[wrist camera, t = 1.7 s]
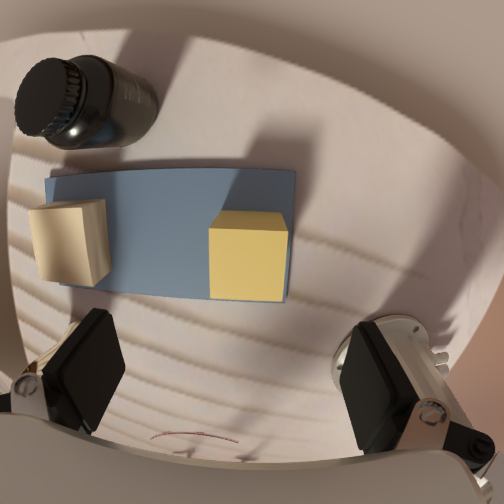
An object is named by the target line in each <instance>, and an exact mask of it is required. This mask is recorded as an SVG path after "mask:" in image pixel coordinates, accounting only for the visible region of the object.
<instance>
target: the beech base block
mask: <svg viewBox="0 0 504 504" xmlns="http://www.w3.org/2000/svg"><path fill="white" fill-rule="evenodd" d="M28 214H29V222H30V229H31V236H32V242H33V247H34V253H35V258H36V263H37V268H38V272H39V276H40V280H44V281H51V282H59V283H66V284H74V285H82V286H90V287H94V286H95V285H96V284H97V283H98V282H99V281H100V280H101V279H102V278H103V277H105V276H106V275H107V274H108V273H109V272H110V271H111V270H112V263H111V255H110V248H109V239H108V229H107V219H106V206H105V199H94V200H73V201H57V202H50V203H47V204H44V205H41V206H39V207H36V208H33V209H30V210H28Z"/></svg>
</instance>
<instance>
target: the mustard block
mask: <svg viewBox="0 0 504 504" xmlns="http://www.w3.org/2000/svg"><path fill="white" fill-rule="evenodd" d="M287 241H288V230H287V227H286V224H285V222H284V219H283V216H282V214H281V213H280V212H258V211H230V210H221V211H220V212H219V214H218V215H217V217H216V218H215V220H214V221H213V223H212V224H211V226H210V227H209V274H210V298H212V299H230V300H251V301H278V302H282V299H283V289H284V277H285V266H286V254H287Z"/></svg>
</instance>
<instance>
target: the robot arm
mask: <svg viewBox="0 0 504 504" xmlns="http://www.w3.org/2000/svg"><path fill="white" fill-rule="evenodd" d="M448 358H449V355H448V353H447V352H442V353H437V354H434V353H433V352H432V351H431V350H430V348H429V337H428V333H427V331H426V329H425V328H424V327H423V325H422V324H421V323H420V322H419V321H418V320H416V319H415V318H412V317H410V316H406V315H390V316H385V317H381V318H379V319H376V320H374V321H369V322H359V324H358V326H354V328H353V332H352V335H351V336H349V337H348V338H347V339H346V340H345V341H344V343H343V344H342V345H341V347H340V348H339V349H338V351H337V353H336V355H335V357H334V360H333V363H332V370H331V373H332V378H333V381H334V384H335V386H336V388H337V389H338V390H339V391H340V392H341V393H342V394H343V397H344V400H345V403H346V407H347V410H348V414H349V417H350V420H351V424H352V427H353V431H354V434H355V438H356V441H357V445H358V448H359V450H363V452H364V455H361V456H355V457H348V458H339V459H330V460H320V461H308V462H290V463H244V462H226V461H213V460H203V459H195V458H187V457H180V456H174V455H168V454H162V453H157V452H152V451H147V450H142V449H138V448H134V447H130V446H126V445H122V444H118V443H114V442H111V441H107V440H104V439H100V438H97V437H94V436H91V433H92V431H93V432H95V431H96V429H97V428H98V425H99V423H100V421H101V419H102V417H103V415H104V413H105V411H106V408H107V406H108V404H109V402H110V400H111V398H112V396H113V394H114V392H115V390H116V388H117V386H118V384H119V382H120V380H121V378H122V376H123V374H124V372H125V362H124V359H123V356H122V352H121V349H120V345H119V341H118V337H117V334H116V330H115V326H114V322H113V317H112V315H111V314H109V312H108V311H107V310H105V309H98V308H93V309H92V310H91V311H90V312H89V313H88V314H87V316H86V317H85V318H84V319H83V320H82V321H81V322H80V324H79V325H78V326H77V327H76V328H75V329H74V331H73V332H72V333H71V334H70V335H69V337H68V338H67V339H66V340H65V341H64V343H63V344H62V345H61V346H60V347H59V349H58V350H57V351H56V352H55V354H54V355H53V356H52V357H51V359H50V360H49V361H48V362H47V364H46V365H45V366H44V368H43V369H42V370H41V371H42V373H43V375H42V376H41V377H40V376H39V375H37V374H35V373H31V372H29V373H24V374H21V375H19V376H18V377H16V379H15V380H14V381H13V382H12V384H11V392H10V393H6V394H3V395H0V504H504V454H503V453H502V452H501V451H499V452H498V453H496V452H495V445H494V442H493V440H492V439H491V438H490V437H489V436H488V435H486V434H484V433H482V432H479V431H476V430H475V429H474V428H473V426H472V424H471V422H470V421H469V419H468V417H467V416H466V414H465V412H464V411H463V409H462V407H461V406H460V404H459V402H458V401H457V399H456V398H455V396H454V394H453V393H452V391H451V390H450V388H449V386H448V385H447V383H446V382H445V380H444V378H446V377H447V376H448V374H449V368H448V365H446V364H442V365H437V366H435V365H436V364H440V363H446V362H447V361H448Z"/></svg>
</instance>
